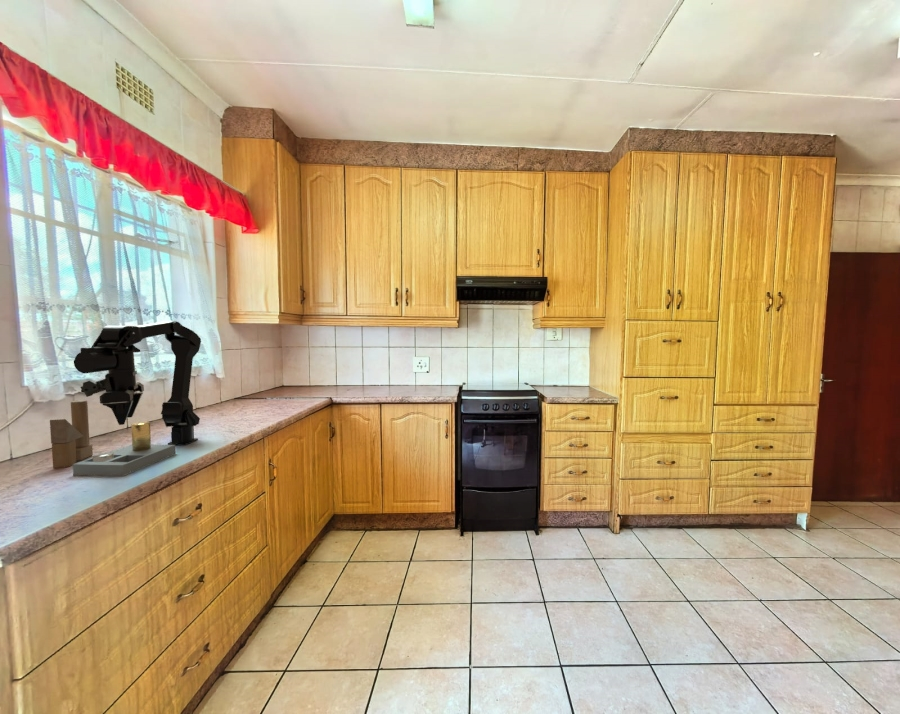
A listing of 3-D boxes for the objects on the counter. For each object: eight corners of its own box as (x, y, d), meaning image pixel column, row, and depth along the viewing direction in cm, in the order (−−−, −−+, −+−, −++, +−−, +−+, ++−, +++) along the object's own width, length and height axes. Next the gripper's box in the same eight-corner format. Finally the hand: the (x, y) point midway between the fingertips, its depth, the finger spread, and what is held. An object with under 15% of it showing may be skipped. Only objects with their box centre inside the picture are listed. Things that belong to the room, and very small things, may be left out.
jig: (133, 453, 115) (133, 444, 115) (175, 453, 115) (175, 444, 114) (73, 475, 97) (72, 464, 97) (123, 475, 97) (122, 465, 96)
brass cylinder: (141, 446, 112) (140, 421, 112) (154, 446, 112) (153, 422, 112) (128, 451, 108) (127, 425, 107) (142, 451, 108) (141, 425, 107)
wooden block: (52, 468, 101) (48, 406, 100) (79, 456, 112) (75, 400, 111) (68, 467, 103) (64, 406, 101) (93, 455, 113) (90, 399, 112)
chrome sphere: (104, 465, 104) (103, 452, 104) (118, 465, 104) (118, 452, 104) (88, 471, 100) (87, 457, 99) (103, 471, 100) (103, 457, 99)
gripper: (94, 366, 107) (99, 417, 108) (70, 374, 91) (75, 433, 93) (142, 364, 113) (146, 412, 114) (127, 371, 97) (131, 427, 98)
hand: (125, 420), depth 105 cm, fingers open, 9 cm apart
